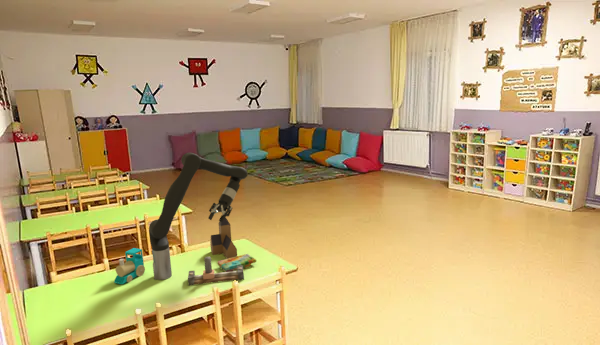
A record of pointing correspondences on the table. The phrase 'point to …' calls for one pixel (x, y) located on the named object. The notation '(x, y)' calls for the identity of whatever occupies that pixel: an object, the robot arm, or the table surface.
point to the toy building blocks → (223, 241)
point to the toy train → (130, 267)
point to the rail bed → (224, 278)
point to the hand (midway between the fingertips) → (214, 220)
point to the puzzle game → (236, 262)
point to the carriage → (208, 269)
